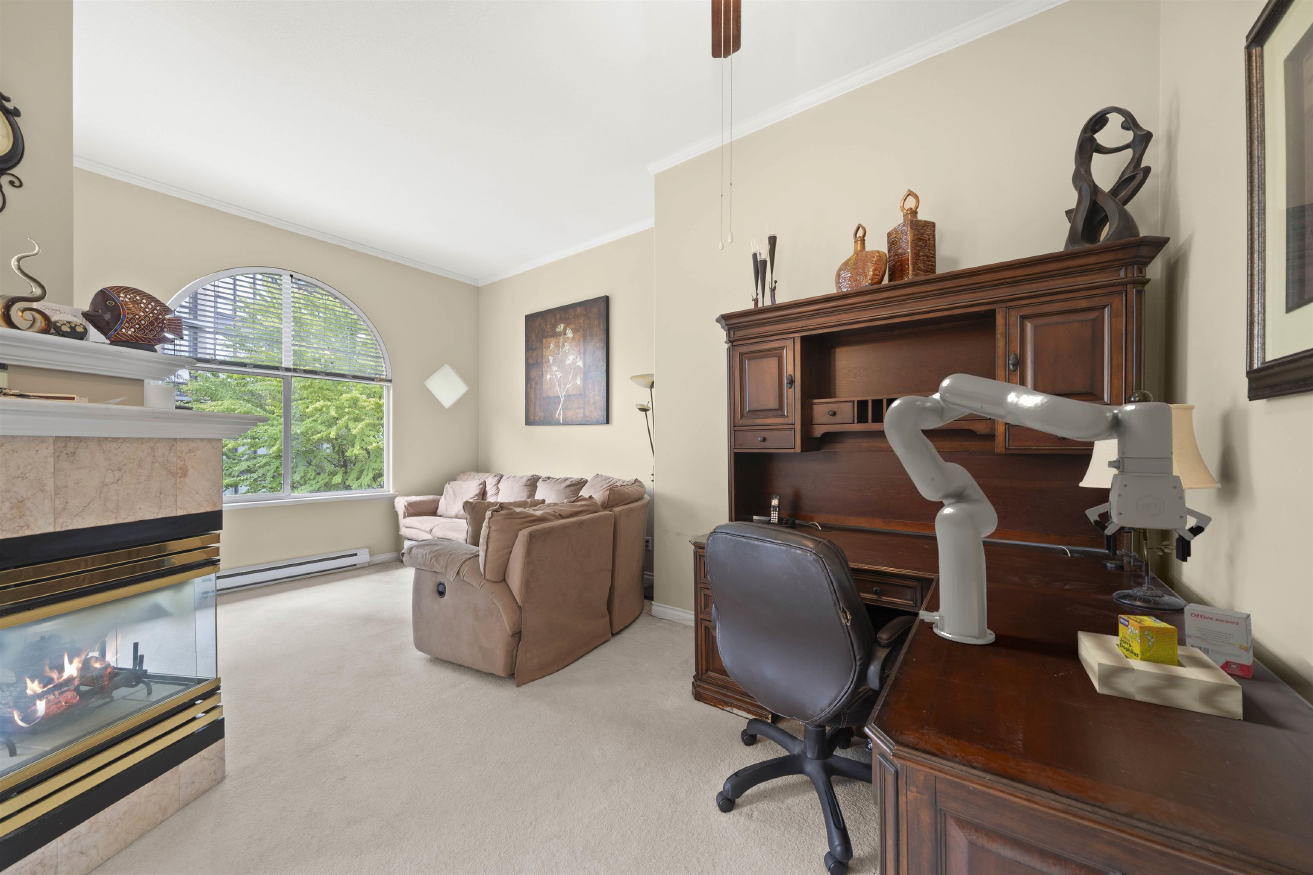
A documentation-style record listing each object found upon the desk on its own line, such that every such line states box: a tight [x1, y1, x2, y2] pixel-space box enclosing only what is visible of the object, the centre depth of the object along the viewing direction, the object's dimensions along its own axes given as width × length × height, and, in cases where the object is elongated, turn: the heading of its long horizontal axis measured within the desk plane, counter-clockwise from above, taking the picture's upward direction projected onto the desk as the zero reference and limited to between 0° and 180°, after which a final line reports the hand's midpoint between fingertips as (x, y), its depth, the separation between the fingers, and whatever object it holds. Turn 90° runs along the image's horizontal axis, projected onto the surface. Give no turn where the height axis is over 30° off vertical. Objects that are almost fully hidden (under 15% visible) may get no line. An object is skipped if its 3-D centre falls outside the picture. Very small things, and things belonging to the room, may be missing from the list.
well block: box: [1077, 630, 1243, 721], centre depth 94 cm, size 18×18×6 cm
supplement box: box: [1118, 614, 1179, 666], centre depth 94 cm, size 6×6×11 cm
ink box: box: [1183, 602, 1254, 679], centre depth 101 cm, size 9×5×12 cm, turn 33°
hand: (1146, 557), depth 95 cm, fingers open, 9 cm apart
